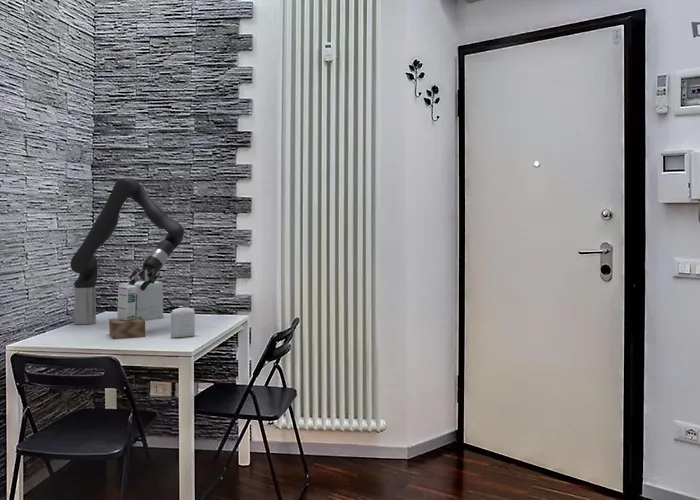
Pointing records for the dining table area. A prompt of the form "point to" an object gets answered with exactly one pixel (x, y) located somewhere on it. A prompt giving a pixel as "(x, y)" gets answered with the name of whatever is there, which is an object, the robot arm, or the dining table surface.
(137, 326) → the walnut block
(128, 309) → the syrup box
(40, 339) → the dining table surface
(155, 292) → the supplement box
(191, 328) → the photo printer
